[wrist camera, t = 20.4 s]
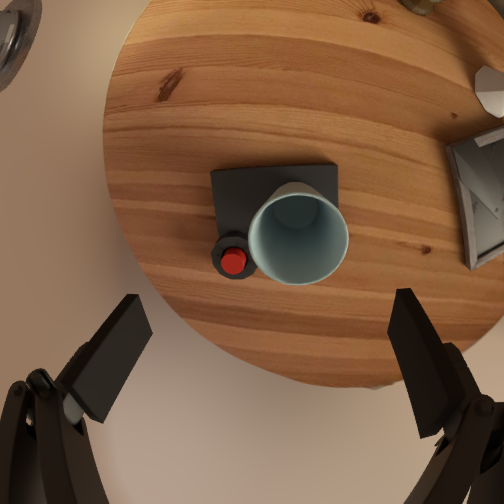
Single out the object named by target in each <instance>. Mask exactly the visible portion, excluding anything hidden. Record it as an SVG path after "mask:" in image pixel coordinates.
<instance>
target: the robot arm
mask: <svg viewBox="0 0 504 504" xmlns="http://www.w3.org/2000/svg"><path fill="white" fill-rule="evenodd" d="M20 24H21V12H20V11H19V10H16V9H7V10H3V11H0V69H1V68H2V66H3V65H4V63H5V62H6V60H7V58H8V56H9V54H10V52H11V50H12V48H13V46H14V43H15V41H16V38H17V35H18V32H19V29H20ZM387 333H388V336H389V339H390V341H391V344H392V347H393V349H394V352H395V355H396V358H397V361H398V364H399V367H400V370H401V373H402V376H403V379H404V382H405V385H406V388H407V392H408V395H409V398H410V402H411V405H412V409H413V412H414V416H415V420H416V423H417V427H418V431H419V435H420V439H422V438H425V437H429V436H432V435H436V434H437V433H438V432H439V431H440V430H441V428H442V427H443V430H444V433H445V434H444V435H443V436H442V437H441V438H440V439H439V440H438V441H437V443H436V444H435V446H437V445H438V446H437V448H436V450H435V452H434V454H433V456H432V458H431V460H430V462H429V464H428V465H427V467H426V469H425V471H424V472H423V474H422V476H421V478H420V479H419V481H418V482H417V484H416V486H415V487H414V489H413V491H412V492H411V493H410V495H409V496H408V498H407V499H406V501H405V502H404V504H462V503H463V501H464V499H465V497H466V495H467V493H468V491H469V489H470V487H471V489H470V493H469V497H468V500H467V504H504V402H494V400H493V399H492V398H491V397H489V396H488V395H484V394H481V392H480V390H479V388H478V386H477V384H476V382H475V380H474V378H473V376H472V373H471V371H470V370H469V368H468V367H467V364H466V362H465V360H464V358H463V356H462V354H461V352H460V350H459V349H458V348H457V347H456V346H455V345H454V344H452V343H451V342H449V343H444V344H443V343H442V342H441V340H440V338H439V336H438V334H437V332H436V330H435V329H434V327H433V325H432V323H431V322H430V320H429V318H428V316H427V315H426V313H425V311H424V309H423V308H422V306H421V304H420V303H419V301H418V299H417V298H416V296H415V295H414V293H413V291H412V290H411V288H404V289H397V291H396V296H395V300H394V305H393V310H392V314H391V318H390V323H389V327H388V331H387ZM152 334H153V332H152V330H151V328H150V325H149V322H148V319H147V317H146V314H145V311H144V309H143V306H142V303H141V300H140V297H139V295H138V294H127V295H126V296H125V297H124V298H123V300H122V301H121V302H120V303H119V304H118V306H117V307H116V308H115V309H114V311H113V312H112V313H111V314H110V315H109V317H108V318H107V319H106V320H105V322H104V323H103V324H102V325H101V327H100V328H99V329H98V331H97V332H96V333H95V334H94V336H93V337H92V338H91V340H90V341H89V342H86V343H85V344H83V345H82V346H81V347H79V349H78V350H77V351H76V352H75V354H74V356H72V358H71V359H70V362H68V363H67V364H66V366H65V367H64V369H63V370H62V371H61V373H60V374H59V375H58V377H57V378H56V380H55V381H53V380H52V378H51V377H50V376H49V374H48V373H47V371H46V370H45V369H42V368H40V369H36V370H34V371H32V372H31V373H30V374H29V375H28V377H27V379H26V383H25V382H24V381H17V382H15V383H13V384H12V386H11V387H10V389H9V391H8V394H7V398H6V401H5V404H4V408H3V412H2V415H1V419H0V504H109V501H108V499H107V496H106V494H105V491H104V488H103V485H102V482H101V479H100V476H99V473H98V470H97V467H96V463H95V460H94V457H93V453H92V449H91V445H90V441H89V437H88V432H87V427H86V423H85V420H84V418H83V417H82V416H83V414H84V412H85V413H86V414H87V415H88V416H89V418H90V419H92V420H95V421H97V422H100V423H104V421H105V419H106V417H107V415H108V413H109V411H110V409H111V407H112V405H113V404H114V402H115V400H116V398H117V396H118V394H119V392H120V391H121V389H122V387H123V385H124V383H125V381H126V380H127V377H128V376H129V374H130V372H131V371H132V369H133V367H134V365H135V364H136V362H137V360H138V358H139V356H140V355H141V353H142V351H143V350H144V348H145V346H146V344H147V343H148V341H149V339H150V337H151V336H152ZM26 384H27V385H28V386H29V387H30V388H29V387H28V386H27V385H26ZM26 418H28V419H29V420H30V421H31V425H28V424H27V423H26Z"/></svg>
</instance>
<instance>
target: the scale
mask: <svg viewBox="0 0 504 504" xmlns="http://www.w3.org/2000/svg"><path fill="white" fill-rule="evenodd" d="M210 175H211V183H212V190H213V198H214V206H215V213H216V221H217V228H218V235H219V239H218V240H217V242H216V243H215V245H214V248H213V250H212V252H211V256H212V262H213V266H214V267H215V268H216V269H217V271H218V272H219V273H220V274H221V275H223V276H225V277H227V278H229V279H245V278H246V277H248V276H250V275H252V274H253V273H254V272H255V270H256V268H257V267H258V266H257V265H256V263H255V262H254V260H253V258H252V256H251V253H250V250H249V245H248V233H249V228H250V225H251V222H252V220H253V218H254V216H255V214H256V213H257V211H258V210H259V209H260V208H261V207H262V206H263V205H264V203H265V202H266V201H267V200H268V199H269V198H270V197H271V196H272V195H273V193H274V192H275V191H276V190H277V189H278V188H279V187H281V186H283V185H285V184H287V183H289V182H302V183H304V184H306V185H309V186H310V187H312V188H313V189H315V190H316V191H317V192H318V193H319V194H321V195H322V196H323V197H324V198H326V199H327V200H328V201H329V202H331V203H332V204H333V205H334V206H335V207H336V208H337V209H338V165H337V164H290V165H270V166H254V167H241V168H229V169H219V170H213V171H211V172H210ZM230 248H239V249H241V250H242V251H243V252H244V253H245V255H246V262H245V265H244V268H243V270H242V271H241V272H240V273H238V274H229V273H227V272H226V271H224V269H223V268H222V266H221V260H222V258H223V256H224V254H225V252H226V251H227V250H228V249H230Z"/></svg>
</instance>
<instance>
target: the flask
mask: <svg viewBox="0 0 504 504" xmlns="http://www.w3.org/2000/svg"><path fill="white" fill-rule="evenodd" d="M475 94H476V95H477V97H478V98H479V100H480V102H481V103H482V105H483V107H484V108H485V110H486V111H487V112H489V113H491V114H492V115H494V116H495V117H497V118H501V117H502V116H504V73H502V72H499V71H497V70H495V69H492V68H490V67H487V66H484V65H483V67H482V68H481V69H480V70H479V71H478V72H477V73H476V74H475Z"/></svg>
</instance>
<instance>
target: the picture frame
mask: <svg viewBox="0 0 504 504" xmlns="http://www.w3.org/2000/svg"><path fill="white" fill-rule="evenodd" d="M444 147H445V150H446V153H447V157H448V161H449V164H450V168H451V172H452V176H453V181H454V185H455V190H456V195H457V200H458V205H459V211H460V217H461V224H462V231H463V239H464V249H465V260H466V267H467V268H468V269H469V270H470V271H472V270H474V269H476V268H478V267H480V266H481V265H483V264H485V263H487V262H488V261H490V260H492V259H494V258H495V257H497V256H499V255H500V254H502V253H504V125H502V126H499V127H496V128H493V129H490V130H487V131H484V132H482V133H479V134H476V135H473V136H470V137H467V138H465V139H462V140H459V141H456V142H454V143H451V144H448V145H446V146H444Z"/></svg>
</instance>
